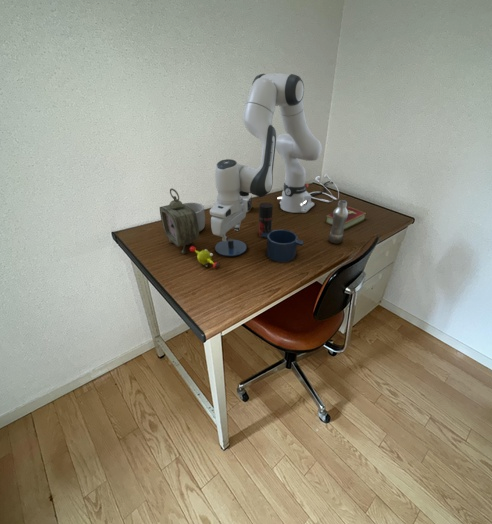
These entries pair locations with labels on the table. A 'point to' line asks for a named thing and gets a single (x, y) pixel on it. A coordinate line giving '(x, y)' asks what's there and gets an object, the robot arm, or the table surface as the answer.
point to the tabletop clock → (179, 222)
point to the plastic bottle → (338, 222)
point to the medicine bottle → (246, 200)
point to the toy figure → (204, 257)
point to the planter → (198, 214)
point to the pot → (281, 245)
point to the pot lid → (231, 247)
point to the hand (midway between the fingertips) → (231, 235)
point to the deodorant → (265, 218)
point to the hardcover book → (349, 217)
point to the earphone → (326, 188)
